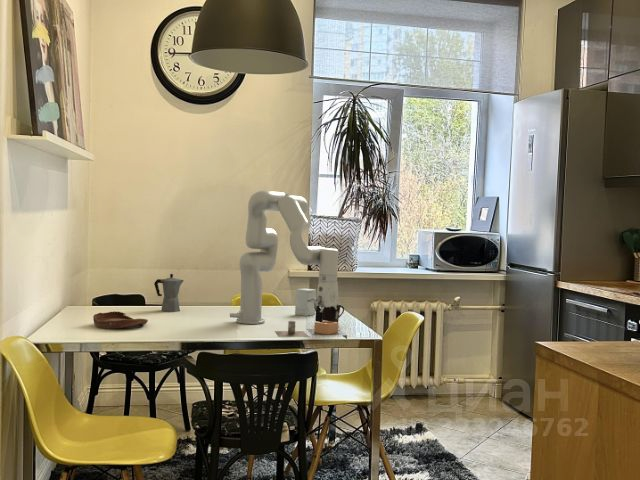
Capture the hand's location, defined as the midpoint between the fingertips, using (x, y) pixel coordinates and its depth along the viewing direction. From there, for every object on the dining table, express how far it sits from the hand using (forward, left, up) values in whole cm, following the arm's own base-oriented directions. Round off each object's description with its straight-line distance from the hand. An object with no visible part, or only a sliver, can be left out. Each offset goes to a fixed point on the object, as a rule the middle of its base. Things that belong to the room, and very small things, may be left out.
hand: (325, 320), depth 273 cm
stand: (-15, -4, -6) cm, 16 cm away
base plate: (0, 0, -6) cm, 6 cm away
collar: (0, 0, -5) cm, 5 cm away
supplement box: (+1, +57, -7) cm, 57 cm away
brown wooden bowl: (-83, +21, -7) cm, 85 cm away
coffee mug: (+8, +23, -7) cm, 25 cm away
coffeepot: (-65, +66, -7) cm, 92 cm away
